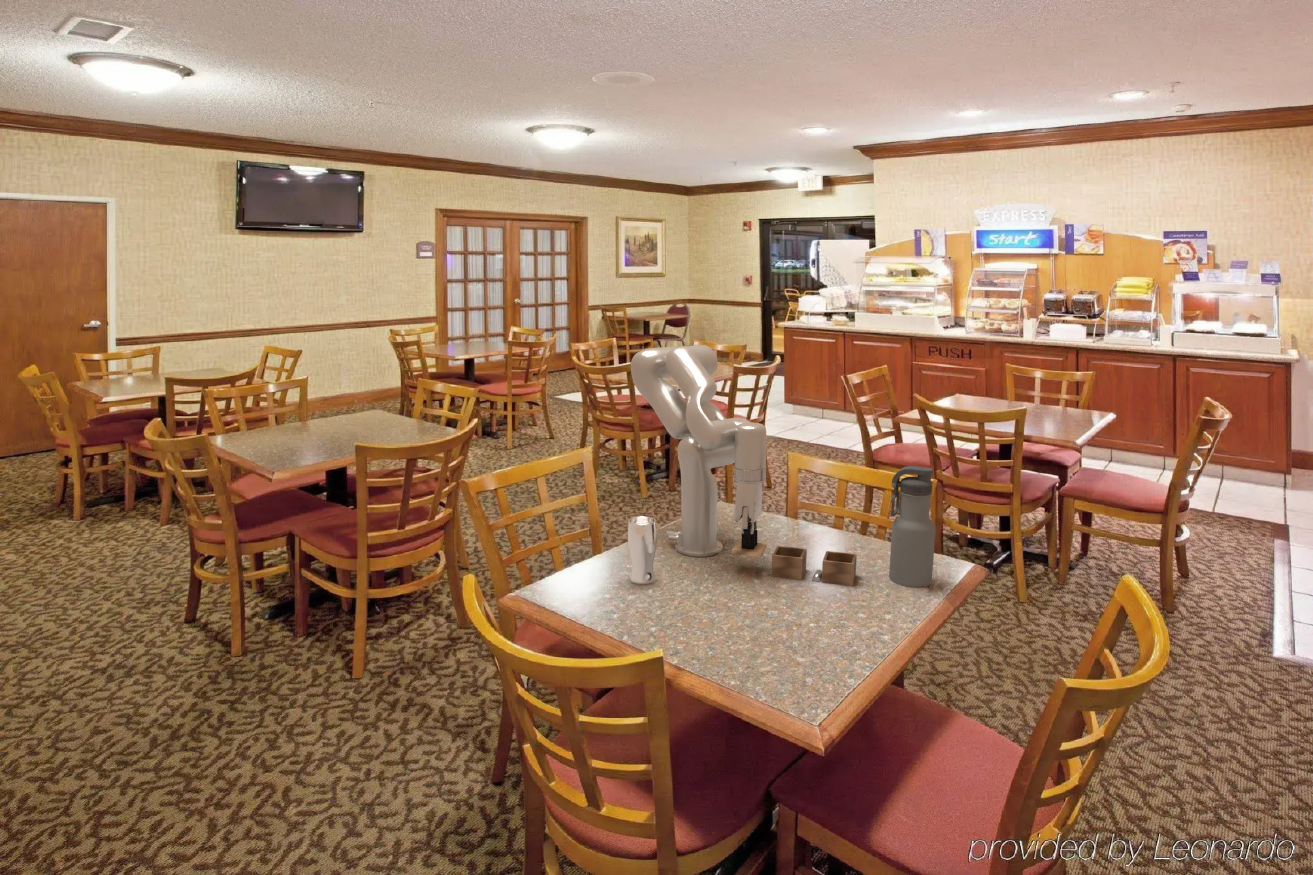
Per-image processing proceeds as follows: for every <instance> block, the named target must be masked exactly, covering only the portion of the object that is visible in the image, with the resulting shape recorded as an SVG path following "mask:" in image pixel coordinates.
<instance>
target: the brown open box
mask: <svg viewBox="0 0 1313 875" xmlns="http://www.w3.org/2000/svg"><path fill="white" fill-rule="evenodd" d="M807 551H808V548H803V547H794V546H784V545H777V546H776V548H775V550H774V551H773V553H772V555H771V577H772V578H774V577H775V578H779V579H780V578H781V579H789V580H797V581H802V580H803V578H804V575H805V573H806V571H807V553H808V552H807Z"/></svg>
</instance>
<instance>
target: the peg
mask: <svg viewBox="0 0 1313 875" xmlns="http://www.w3.org/2000/svg"><path fill="white" fill-rule="evenodd" d="M811 581H812V582H815V583H816V582H817V583H822V569H816V570H815V572H814V575H813V576H812V579H811Z"/></svg>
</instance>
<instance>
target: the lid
mask: <svg viewBox="0 0 1313 875" xmlns="http://www.w3.org/2000/svg"><path fill="white" fill-rule="evenodd" d="M748 525H750V524H748ZM750 527H751V525H750ZM741 541H742V540H741ZM741 541H740V540H737V542H736V543H735V544H734V546H733V547H732V549H731V555H739V556H749V557H756V558H757V557H760V558H761V557H762V556H763V554H764V552H765V550H766V549H767V545H768V544H767V543H765V542H764V543H763V542H757V546H755V549H754V550H753V549H743V548H742V547H741Z"/></svg>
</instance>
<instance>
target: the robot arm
mask: <svg viewBox="0 0 1313 875" xmlns="http://www.w3.org/2000/svg"><path fill="white" fill-rule="evenodd" d="M630 362H631V363H630V374H631V378H632V380H633V384H634V385H635V387H636V389H637V391H638V392H639V393H640V395H641V397H643V398H644V399H645V400H646V402H647V403H648V404H649V405H650V407H652V409H653V411H654V413H655V414H656V416H657V417H658V419H659V420H660V422H661V424H662V425H663V426H664V428H665V429H666V432H668V434H669V435H670V436H671V437H672V439H673V438H674V439H675V440H680V441H679V443H678V445H677V458H678V463H679V468H680V478H681V480H680V481H681V482H680V483H681V485H680V486H681V489H680V490H681V492H680V493H681V498H680V500H681V502H680V504H681V512H680V513H681V517H680V518H681V519H680V520H681V521H680V522H681V530H678V531H674V530H667V531H666V537H667V538H668V540H669V541H676V543H675V550H676V552H678V553H680V554H681V555H685V556H688V557H699V558H701V557H703V558H704V557H705V558H706V557H711V556H714V555H715V556H716V555H718V554H719V553H720V552H722V551H723V546H724V545H723V543H721V541H719V540H718V483H717V480H716V478H715V477H714V475H713V473H712V471H711V469H714V468H718V467H724V466H729V465H733V464H734V480H733V481H735V482H736V489H735V501H734V502H735V503H734V504H735V505H734V506H735V507H734V522H736V523H738V522H740V520H741V547H742V548H743V549H753V550H754V549H755V546H757V543H758V519H759V518H760V516H761V514H762V509H763V483H765V482H766V480H767V479H766V478H767V428H766V426H765V425H764V424H762V423H759V422H752V421H751V420H748V419H746V418H743V417H732V418H726V417H725V416H724V414H723V412H722V411H721V409H720V408H719V407H718V406H717V405H715V404H714V403H712V402H710V401H711V400H712V399H713V398H714V397H715V395H716V393H717V391H718V386H717V383H716V381H715V380H714V379H713V377H712V376H711V375H714V373H716V371H717V369H718V364H719V362H718V356H717V354H716V352H715V351H714V350H713V348H711V346H709V345H705V344H696V345H679V346H678V345H677V346H665V347H663V346H662V347H661V346H660V347H651V348H646V349H642V350H640V351H638V352H637V353H635V354H634V355H633V357H632V359H631V361H630ZM665 378H666V379H667V378H671V379H672V380H673V381H674V383H675V384H676V386H677V387H678V388H676V387H675V386H674V385H672V384H671V383H669V382H668V381H666V380H665ZM678 389H679V390H680V391H679V390H678ZM681 393H682V394H681ZM682 395H683V396H684V397H685V398H684V397H683V396H682ZM748 524H750V525H751V527H750V525H748Z"/></svg>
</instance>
